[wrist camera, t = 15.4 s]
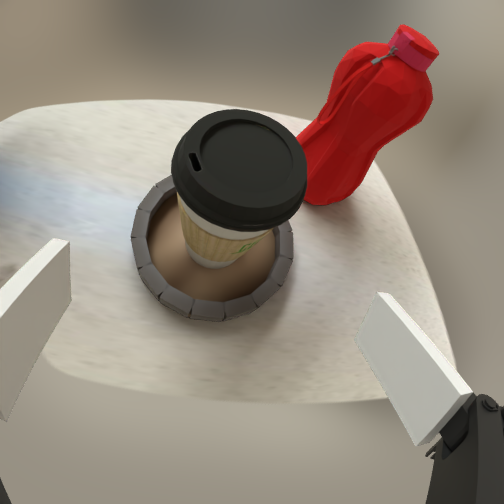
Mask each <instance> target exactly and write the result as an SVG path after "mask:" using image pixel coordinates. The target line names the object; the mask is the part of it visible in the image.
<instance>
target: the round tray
mask: <svg viewBox="0 0 504 504" xmlns="http://www.w3.org/2000/svg"><path fill="white" fill-rule="evenodd" d="M291 231H292V228H291V226H290V223H289V221H288V220H287V221H286V222H284V223H283V224H281V225H279V226H277V227H274V228H273V229H272V230H271V231H270V232H269V233H268V234H267V235H266V236H264V237H263V238H262V239H261V240H260V241H259V242H258V243H256V244H255V245H254V246H253V247H252V248H251V249H250V250H249V251H247V252H246V253H245V254H244V255H242V256H241V257H239V258H238V259H237V260H235V261H234V262H233V263H232V264H230V265H229V266H226V267H224V268H219V269H211V268H206V267H204V266H201V265H200V264H198V263H196V262H195V261H194V260H193V259H192V258H191V256H190V255H189V253H188V251H187V249H186V244H185V238H184V236H183V232H182V226H181V219H180V212H179V205H178V197H177V190H176V188H175V186H174V184H173V179H172V175H170V176H169V177H167V178H165V179H163V180H162V181H160V182H158V183H157V184H156V187H155V186H153V188H152V189H151V190H150V191H149V193H148V194H147V195H146V197H145V198H144V199H143V201H142V202H141V203H140V205H139V206H138V209H137V210H136V215H135V219H134V224H133V228H132V233H131V242H132V247H133V251H134V256H135V260H136V265H137V269H138V272H139V275H140V277H141V279H142V280H143V282H144V283H145V284H146V286H147V287H148V288H149V289H150V291H151V292H152V293H153V295H154V296H155V297H156V299H157V300H158V301H159V300H160V303H162V304H164V305H165V306H167V307H169V308H171V309H172V310H174V311H176V312H178V313H180V314H181V315H183V316H185V317H190V319H198V320H208V321H218V322H220V321H221V320H222V321H226V320H229V319H232V318H236V317H239V316H242V315H245V314H248V313H251V312H253V311H254V310H256V309H257V308H258V307H260V306H261V305H262V304H263V303H264V302H265V301H266V300H268V299H269V298H270V297H271V296H272V295H273V294H274V293H275V292H276V291H278V290H279V289H280V287H281V286H282V285H283V282H284V280H285V278H286V275H287V273H288V271H289V268H290V266H291V264H292V259H293V232H291Z"/></svg>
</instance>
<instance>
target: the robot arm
mask: <svg viewBox="0 0 504 504" xmlns="http://www.w3.org/2000/svg"><path fill="white" fill-rule="evenodd" d="M71 301H72V299H71V283H70V241H66V240H61V239H56V238H53V239H52V240H51V241H50V242H48V243H47V244H46V245H45V246H44V247H43V248H42V249H41V250H40V251H38V252H37V253H36V254H35V255H34V256H33V257H32V258H31V259H30V260H29V261H28V262H27V263H26V264H25V265H24V266H23V267H22V268H21V269H20V270H19V271H18V272H17V273H16V274H15V275H14V276H13V277H12V278H11V279H10V280H9V281H8V282H7V283H6V284H5V285H4V286H3V287H2V288H1V289H0V419H1V420H4V421H6V422H7V420H8V418H9V416H10V413H11V411H12V409H13V407H14V405H15V402H16V400H17V398H18V396H19V394H20V392H21V390H22V388H23V386H24V383H25V382H26V380H27V378H28V376H29V374H30V372H31V370H32V368H33V366H34V364H35V362H36V360H37V359H38V357H39V355H40V353H41V351H42V349H43V348H44V346H45V344H46V342H47V341H48V339H49V337H50V335H51V334H52V332H53V330H54V329H55V327H56V325H57V324H58V322H59V320H60V319H61V317H62V315H63V314H64V312H65V310H66V309H67V307H68V306H69V304H70V302H71ZM354 341H355V342H356V344H357V345H358V347H359V349H360V350H361V352H362V354H363V355H364V357H365V359H366V360H367V362H368V364H369V365H370V367H371V369H372V371H373V372H374V374H375V376H376V377H377V379H378V381H379V382H380V384H381V386H382V388H383V389H384V391H385V393H386V395H387V396H388V398H389V400H390V401H391V403H392V405H393V407H394V408H395V410H396V412H397V414H398V416H399V417H400V419H401V421H402V422H403V424H404V426H405V428H406V430H407V432H408V433H409V435H410V437H411V439H412V440H413V442H414V444H415V446H419V445H423V444H426V443H429V442H430V441H431V440H432V439H433V438H434V437H435V436H436V435H437V434H438V433H440V434H441V436H442V438H441V439H440V440H439V441H438V442H437V443H436V444H435V445H434V446H433V447H432V448H431V449H430V450H429V451H428V452H427V453H426V455H425V456H426V457H428V456H429V455H430V454H431V453H432V452H436V453H435V454H434V455H432V457H431V459H434V465H433V471H432V476H431V481H430V486H429V491H428V495H427V500H426V504H504V406H503V407H501V406H499V405H498V404H497V403H496V402H495V401H494V400H493V399H492V398H491V397H489V396H488V395H484V394H480V395H478V396H476V395H475V394H474V393H473V391H472V390H471V389H470V388H469V386H468V385H467V384H466V383H465V381H464V380H463V379H462V377H461V376H460V375H459V374H458V372H457V371H456V370H455V369H454V367H453V366H452V365H451V364H450V363H449V361H448V360H447V359H446V358H445V356H444V355H443V354H442V353H441V352H440V350H439V349H438V348H437V347H436V346H435V345H434V343H433V342H432V341H431V340H430V339H429V338H428V336H427V335H426V334H425V333H424V332H423V331H422V329H421V328H420V327H419V326H418V325H417V324H416V323H415V321H414V320H413V319H412V318H411V317H410V316H409V315H408V314H407V312H406V311H405V310H404V309H403V308H402V307H401V306H400V305H399V304H398V302H397V301H396V300H395V299H394V298H393V297H392V296H391V295H390V294H389V293H383V292H376V294H375V296H374V299H373V301H372V303H371V305H370V307H369V310H368V312H367V314H366V316H365V318H364V320H363V322H362V324H361V326H360V328H359V330H358V332H357V334H356V336H355V338H354ZM0 504H11V501H10V499H9V497H8V495H7V493H6V490H5V488H4V486H3V484H2V481H1V479H0Z"/></svg>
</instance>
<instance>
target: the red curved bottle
mask: <svg viewBox="0 0 504 504" xmlns="http://www.w3.org/2000/svg"><path fill="white" fill-rule="evenodd" d="M438 55H439V52H438V50H437V49H436V47H435V46H434V45H433V44H432V43H431V42H430V41H429V40H428V39H427V38H426V37H425V36H424V35H422V34H421V33H419V32H417V31H416V30H414V29H412V28H410V27H408V26H406V25H400V26H399V27H398V29H397V31H396V32H395V34H394V35H393V37H392V38H391V40H390V41H389V43H388V44H384V43H373V42H364V43H362V44H359V45H357V46H355V47H354V48H352V49H350V50H348V51H347V53H346V54H345V56H344V57H343V58H342V60H341V61H340V63H339V65H338V66H337V68H336V70H335V72H334V76H333V80H332V84H331V88H330V92H329V95H328V99H327V103H326V104H325V105H324V107H323V108H322V110H321V111H320V113H319V115H318V117H317V118H316V119H315V120H314V121H313V122H312V123H311V124H309V125H308V126H307V127H306V128H305V129H304V130H303V131H302V132H301V133H300V134H299V135H298V136H297V137H296V139H297V140H298V142H299V143H300V145H301V147H302V149H303V151H304V153H305V156H306V160H307V189H306V194H305V197H304V200H305V201H307V202H309V203H310V204H312V205H327V204H330V203H334V202H338V201H341V200H343V199H345V198H346V197H348V196H350V195H351V194H352V193H353V192H354V191H355V189H356V188H357V187H358V186H359V185H360V184H361V183H362V181H363V179H364V177H365V175H366V173H367V172H368V170H369V168H370V166H371V164H372V162H373V160H374V158H375V156H376V154H377V152H378V151H379V150H380V149H381V148H382V147H383V146H384V145H386V144H387V143H389V142H390V141H391V140H393V139H395V138H396V137H398V136H399V135H401V134H403V133H404V132H406V131H407V130H409V129H410V128H412V127H413V126H415V125H417V124H418V123H419V122H421V121H422V119H423V118H424V116H425V114H426V113H427V111H428V109H429V107H430V105H431V103H432V100H433V94H432V86H431V83H430V81H429V78H428V76H427V74H426V70H427V68H428V67H429V66H430V65H431V63H432V62H433V61H434V59H435V58H436V57H437V56H438Z"/></svg>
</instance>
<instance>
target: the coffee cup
mask: <svg viewBox="0 0 504 504" xmlns="http://www.w3.org/2000/svg"><path fill="white" fill-rule="evenodd" d="M171 174H172V179H173V184H174V186H175V188H176V190H177V197H178V205H179V212H180V219H181V226H182V232H183V236H184V238H185V244H186V249H187V251H188V253H189V255H190V256H191V258H192V259H193V260H194V261H195V262H196V263H198V264H200V265H201V266H204V267H206V268H211V269H219V268H224V267H226V266H229V265H230V264H232V263H233V262H234V261H235V260H237V259H238V258H239V257H241V256H242V255H244V254H245V253H246V252H247V251H249V250H250V249H251V248H252V247H253V246H254V245H255V244H256V243H258V242H259V241H260V240H261V239H262V238H263V237H264V236H266V235H267V234H268V233H269V232H270V231H271V230H272V229H273V228H274V227H277V226H279V225H281V224H283V223H284V222H286V221H287V220H289V219H290V218H291V217H292V216H293V215H294V214H295V213H296V212H297V211H298V209H299V208H300V206H301V204H302V202H303V200H304V197H305V194H306V189H307V160H306V156H305V153H304V151H303V149H302V147H301V145H300V143H299V142H298V140H297V139H296V138H295V136H294V135H293V134H292V133H291V132H290V131H289V130H288V129H287V128H285V127H284V126H283V125H281V124H280V123H279V122H277V121H275V120H273V119H272V118H270V117H267V116H265V115H262V114H260V113H256V112H252V111H248V110H239V109H231V110H222V111H217V112H214V113H211V114H209V115H206V116H205V117H203V118H201V119H200V120H198V121H197V122H196V123H195V124H194V125H193V126H192V127H191V128H190V130H189V131H188V132H187V133H186V134H185V135H184V136H183V137H182V138H181V140H180V141H179V143H178V145H177V146H176V149H175V152H174V155H173V158H172V164H171Z"/></svg>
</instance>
